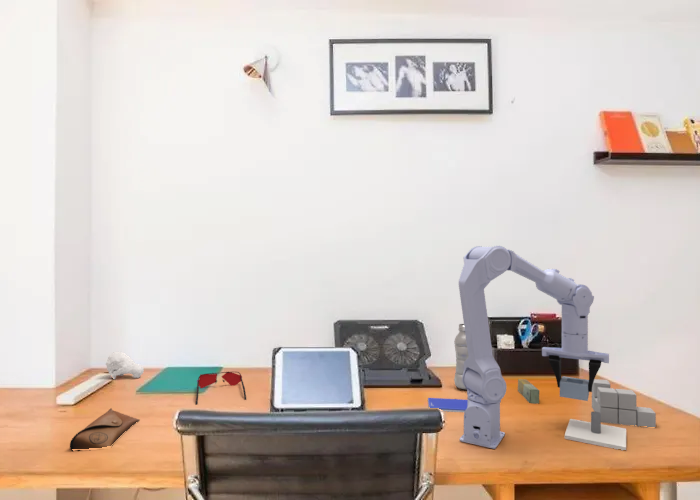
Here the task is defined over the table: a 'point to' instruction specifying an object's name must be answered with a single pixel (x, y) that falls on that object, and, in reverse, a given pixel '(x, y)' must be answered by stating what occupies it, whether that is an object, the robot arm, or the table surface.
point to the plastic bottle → (460, 356)
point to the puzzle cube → (619, 406)
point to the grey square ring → (574, 388)
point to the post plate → (596, 433)
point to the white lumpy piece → (123, 365)
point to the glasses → (211, 378)
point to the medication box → (528, 391)
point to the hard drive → (448, 404)
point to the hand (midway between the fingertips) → (574, 388)
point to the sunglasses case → (103, 431)
